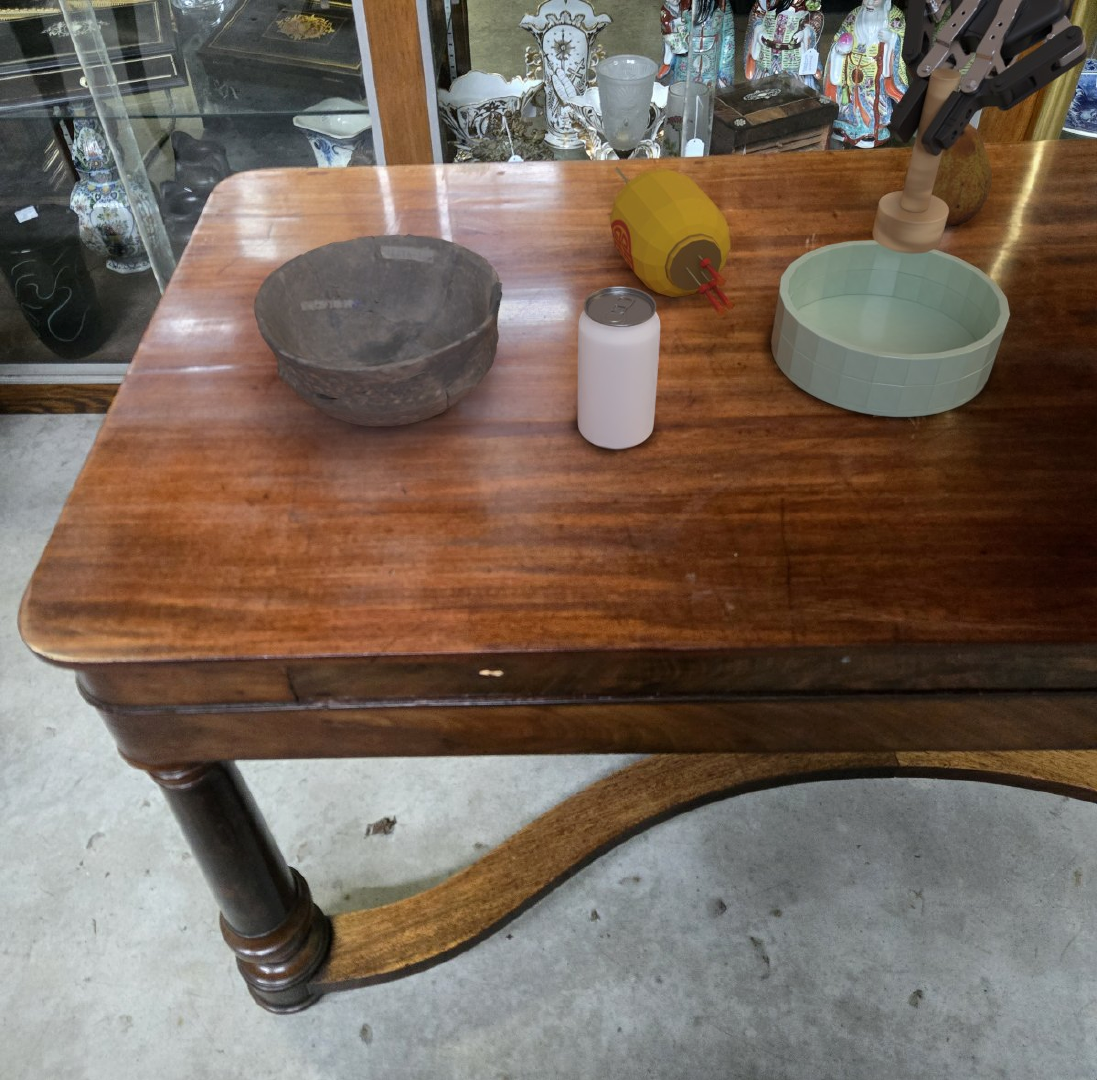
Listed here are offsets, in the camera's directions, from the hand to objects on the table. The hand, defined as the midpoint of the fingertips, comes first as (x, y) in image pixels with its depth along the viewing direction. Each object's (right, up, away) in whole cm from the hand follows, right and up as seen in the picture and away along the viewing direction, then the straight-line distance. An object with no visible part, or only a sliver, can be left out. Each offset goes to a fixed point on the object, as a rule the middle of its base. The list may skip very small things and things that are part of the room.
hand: (913, 141), depth 72 cm
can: (-20, -18, +17) cm, 31 cm away
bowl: (-39, -14, +21) cm, 47 cm away
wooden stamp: (+2, -5, +7) cm, 8 cm away
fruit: (+18, +8, +43) cm, 47 cm away
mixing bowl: (+5, -10, +24) cm, 27 cm away
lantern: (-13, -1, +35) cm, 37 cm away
